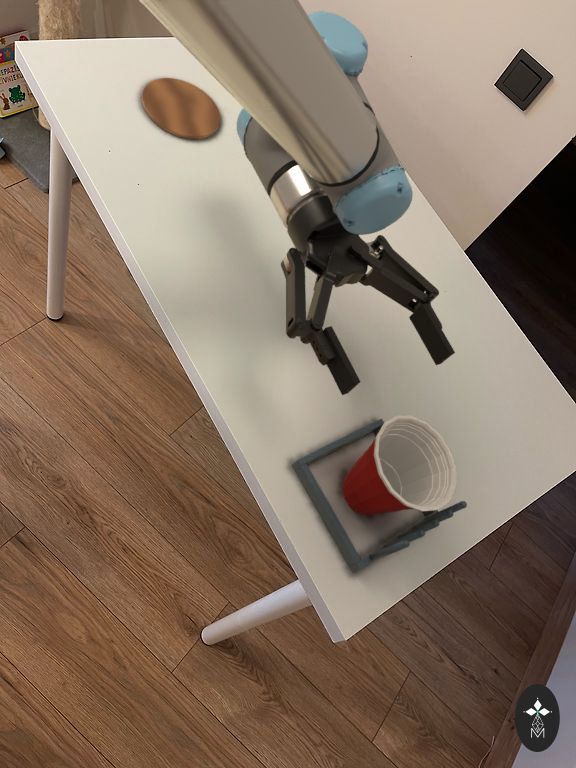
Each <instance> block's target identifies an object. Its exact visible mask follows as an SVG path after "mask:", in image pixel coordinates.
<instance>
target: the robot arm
mask: <svg viewBox="0 0 576 768" xmlns="http://www.w3.org/2000/svg"><path fill="white" fill-rule="evenodd" d="M138 1H139V2H140V3H141V4H142V5H143V6H144V7H145V9H147V11H148V12H150V14H152V15H153V16H154V17H155V18H156V19H157V20H158V21H159V23H160V24H161V25H162V26H164V28H165V29H166V30H167V31H168V32H169V33H170V35H172V36H173V37H174V38H175V39H176V40H177V41H178V42H179V43H180V44H181V45H182V46H183V47H184V48H185V49H186V50H187V51H188V53H190V54H191V56H192V57H194V59H195V60H197V61H198V63H199V64H200V65H201V66H202V67H203V68H204V69H205V70H206V71H207V72H208V73H209V74H210V76H212V77H213V78H214V79H215V80H216V81H217V82H218V83H219V84H220V85H221V86H222V87H223V88H224V90H226V91H227V92H228V93H229V94H230V95H231V97H232V98H233V99H235V101H236V102H237V103H238V104H239V105H240V106H241V107H242V109H241V110H240V112H239V114H238V116H237V119H236V133H237V136H238V138H239V141H240V143H241V145H242V147H243V151H244V155H245V157H246V158H247V160H248V161H249V162H250V164H251V166H252V167H253V170H254V172H255V173H256V176H257V177H258V179H259V181H260V182H261V184H262V187H263V188H264V191H265V192H266V194H267V195H268V197H269V199H270V202H271V203H272V206H273V208H274V209H275V211H276V213H277V215H278V217H279V218H280V219H279V220H281V223H282V224H283V226H284V227H285V228H286V233H287V234H288V236H289V238H290V240H291V242H292V244H293V247H290V248H289V249H288V250H287V252H286V254H285V255H284V257H283V259H282V260H281V262H280V268H281V270H282V273H283V275H284V278H285V334H286V337H288V338H289V339H294V340H295V339H296V338H297V337H298V338H299V339H300V342H301V343H302V344H303V345H310V346H311V348H312V350H313V352H314V353H315V354H314V355H315V356H316V359H317V361H318V362H319V363H320V364H321V365H322V366H327V368H328V371H329V372H330V374H331V376H332V378H333V380H334V382H335V384H336V386H337V388H338V390H339V392H340V394H341V396H344V395H347V394H349V393H350V392H351V391H353V389H355V387H356V386H358V385H359V384H360V383H361V380H360V378H359V376H358V374H357V372H356V370H355V368H354V366H353V364H352V363H351V360H350V358H349V356H348V354H347V352H346V351H345V349H344V347H343V345H342V342H341V341H340V339H339V337H338V335H337V333H336V332H335V330H334V328H333V326H332V325H330V326H326V327H325V328H323V327H324V324H325V320H326V316H327V311H328V308H329V303H330V299H331V295H332V291H333V287H335V288H339V287H343V286H344V285H355V284H358V283H359V284H361V285H362V286H365V287H368V286H369V287H372V288H373V289H375V291H378V292H380V293H381V294H383V295H384V296H386V297H387V298H389V299H390V300H392V301H394V303H396V304H398V305H400V306H401V307H403V308H405V309H406V310H408V311H409V312H411V313H412V314H411V315H409V316H408V319H409V320H410V322H411V323H412V326H413V327H414V329H415V330H416V332H417V334H418V336H419V338H420V339H421V341H422V343H423V346H424V347H425V349H426V350H427V352H428V354H429V355H430V357H431V359H432V361H433V363H434V364H435V366H439V365H442V364H443V363H444V362H445V361H446V360H448V359H450V357H452V356H453V355H454V354H455V353H456V352H455V349H454V348H453V346H452V344H451V343H450V341H449V340H448V337H447V335H446V334H445V332H444V330H443V323H442V322H441V320H440V319H439V317H438V315H437V313H436V312H435V310H434V308H433V307H432V302H433V301H434V300H435V299H436V298H437V297H438V296H440V290H439V289H438V288H437V287H436V286H435V285H434V284H432V283H431V282H430V280H428V279H427V278H426V277H425V276H424V275H422V274H421V272H419V271H418V270H417V269H416V268H415V267H414V266H412V265H411V263H409V262H408V261H407V260H406V259H405V258H403V257H402V256H401V255H400V254H399V253H398V252H397V251H396V250H395V249H394V248H393V247H392V246H391V244H390V243H389V241H388V240H387V238H386V237H385V236H384V235H382V234H378V235H377V236H376V237H375V239H374V240H372V241H369V242H366V241H365V240H364V239H363V238H362V237H361V236H365V235H370V234H374V233H378V232H380V231H383V230H385V229H386V228H388V227H390V226H391V225H393V224H394V223H396V222H397V221H399V220H400V219H401V218H402V217H403V216H404V214H405V213H406V212H407V211H408V210H409V208H410V206H411V204H412V201H413V196H414V193H413V192H414V191H413V188H412V185H411V183H410V181H409V179H408V177H407V174H406V169H405V167H404V166H403V165H402V163H401V162H400V161H399V158H398V156H397V155H396V153H395V151H394V149H393V147H392V145H391V143H390V141H389V139H388V138H387V135H386V133H385V132H384V130H383V128H382V126H381V124H380V122H379V120H378V118H377V116H376V114H375V112H374V110H373V107H372V106H371V103H370V102H369V100H368V98H367V95H366V94H365V92H364V90H363V88H362V86H361V83H360V82H359V80H358V79H359V75H360V74H362V73H363V71H364V67H365V64H366V62H367V59H368V54H369V52H368V51H369V45H368V42H367V39H366V37H365V36H364V34H363V33H362V31H360V29H359V28H358V27H357V26H356V25H355V24H353V23H352V21H350V20H348V19H346V18H345V17H343V16H341V15H339V14H336V13H333V12H328V11H324V10H321V11H320V10H318V11H313V12H310V13H307V12H306V10H305V8H304V7H303V5H302V4H301V2H300V1H299V0H138ZM368 267H371V269H370V270H369V271H368V269H369V268H368ZM306 269H308V270H309V271H311V272H312V273H314V274H315V275H316V278H315V281H314V285H313V293H312V297H311V301H310V305H309V309H308V312H307V301H306V300H307V297H306V296H307V295H306V294H307V293H306Z"/></svg>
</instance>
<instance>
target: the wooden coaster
mask: <svg viewBox="0 0 576 768" xmlns="http://www.w3.org/2000/svg"><path fill="white" fill-rule="evenodd" d="M141 104H142V107H143V110H144V112H145V113H146V115H147V117H148V118H149V119H150V121H152V122H153V123H154V124H155V125H156V126H158V128H160V129H162V130H163V131H165V132H167V133H169V134H171V135H173V136H175V137H178V138H182V139H186V140H203V139H207V138H208V137H211V136H212V135H214V134H215V133H216V132H217V130H218V129H219V126H220V123H221V113H220V110H219V108H218V106H217V104H216V102H215V101H214V100H213V98H211V96H210V95H208V94H207V92H205V91H204V90H202V89H201V88H199V87H198V86H196V85H195V84H192V83H190V82H188V81H185V80H182V79H178V78H172V77H161V78H157V79H153V80H151V81H150V82H148V83H147V84H146V85H145V86H144V88H143V90H142V94H141Z"/></svg>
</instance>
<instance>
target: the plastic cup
mask: <svg viewBox="0 0 576 768" xmlns="http://www.w3.org/2000/svg"><path fill="white" fill-rule="evenodd" d="M455 463H456V462H455V461H454V456H453V454H452V450H451V449H450V447H449V446H448V444H447V442H446V441H445V440H444V438H443V436H442V434H440V433H439V432H438V431H437V430H436V429H435V428H434V427H433V426H431V425H430V424H429V422H427V421H425V420H423V419H420V418H417V417H415V416H414V415H395V416H393V417H392V418H391V419H389V420H387V421H384V424H383V426H382V427H381V429H380V431H379V433H378V434H377V435H376V436H375V438H374V440H373V441H372V443H371V444H370V445H369V446H368V448H367V449H366V450H365V451H364V453H362V455H361V456H360V457H359V458H358V459H357V460H356V462H355V464H354V465H353V466H352V468H351V469H350V470H349V471H348V472H347V474H346V476H345V477H344V480H343V483H342V494H343V498H344V500H345V502H346V504H347V505H348V506H349V508H350V509H352V510H353V511H354V512H355V513H357V514H360V515H363V516H372V515H373V516H374V515H380V514H388V513H395V512H400V511H405V510H416V511H418V512H423V511H431V510H438V511H440V509H442V508H443V507H444V506H446V505H447V504H448V503H449V502H450V501H451V499H452V497H453V495H454V493H455V490H456V488H457V466H456V464H455Z"/></svg>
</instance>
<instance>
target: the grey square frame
mask: <svg viewBox="0 0 576 768" xmlns="http://www.w3.org/2000/svg"><path fill="white" fill-rule="evenodd" d="M384 423H385V421H384V420H383V419H382V418H380V419H377V420H375V421H374V422H371V423H370V424H368V425H365V426H363V427H361V428H359V429H357V430H355V431H353V432H351V433H349V434H347V435H345V436H343V437H342V438H339V439H336V440H335V441H333V442H331V443H329V444H327V445H325V446H323V447H321V448H319V449H317V450H315V451H313V452H311V453H309V454H307V455H305V456H303V457H301V458H298V459H297V460H296V461H295V462H294V463H292V464H291V466H292V467H293V469H294V471H295V473H296V474H297V477H298V478H299V481H300V482H301V484H302V485H303V487H304V489H305V491H306V493H307V494H308V496H309V498H310V500H311V501H312V503H313V505H314V507H315V508H316V510H317V512H318V514H319V515H320V517H321V519H322V521H323V523H324V524H325V527H326V528H327V531H329V533H330V535H331V537H332V538H333V540H334V542H335V544H336V546H337V548H338V550H339V551H340V553H341V555H342V557H343V558H344V561H346V563H347V565H348V567H349V568H350V570H351V572H352V573H355V572H358V571H361V570H362V569H363V568H365V567H367V566H368V565H370V564H371V563H372V562H375V561H376V560H379V559H381V558H384V557H386V556H389V555H392V554H394V553H396V552H400V551H401V550H404V549H407V548H409V547H410V545H411V542H413V541H416V540H419V539H421V538H424V537H425V536H426V532H429V531H431V530H433V529H436V528H438V527H439V526H440V523H441V522H444V521H447V520H448V519H450V518H451V519H452V518H453V516H454V513H457V512H459V511H461V510H464V509H466V508H467V506H468V504H467V501H465V500H462V501H458V502H457V503H455V504H452V505H449V506H448V507H446V508H444V509H441V510H431V511H422V513H423V514H424V516H423V517H421V518H420V519H418V520H417V521H416V522H414V523H412V524H411V525H410V526H408V527H406V528H404V529H403V530H402V531H400V532H399V533H397V534H396V535H394V536H393V537H391V538H389V539H388V540H386V541H385V542H383V543H382V544H381V545H379V546H377V547H376V548H374V549H373V550H372V551H369V552H368V553H366V554H365V555H364V556H362V557H360V555H359V553H358V552H357V550H356V548H355V546H354V544H353V542H352V541H351V539H350V537H349V536H348V534H347V532H346V531H345V529H344V527H343V526H342V524H341V522H340V520H339V518H338V517H337V514H336V513H335V511H334V509H333V507H332V506H331V504H330V502H329V501H328V499H327V497H326V495H325V494H324V491H322V488H321V487H320V485H319V483H318V481H317V480H316V478H315V476H314V475H313V472H312V470H311V469H310V467H309V466H308V465H310V464H312V463H313V462H315V461H317V460H319V459H321V458H323V457H325V456H327V455H330V454H331V453H332V452H335V451H337V450H339V449H341V448H343V447H345V446H347V445H349V444H351V443H353V442H355V441H357V440H359V439H362V437H364V436H367V435H368V434H370V433H372V432H374V434H375V435H376V436H377V434H378V433H379V431H380V429H381V427H382V426H383V424H384Z"/></svg>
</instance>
